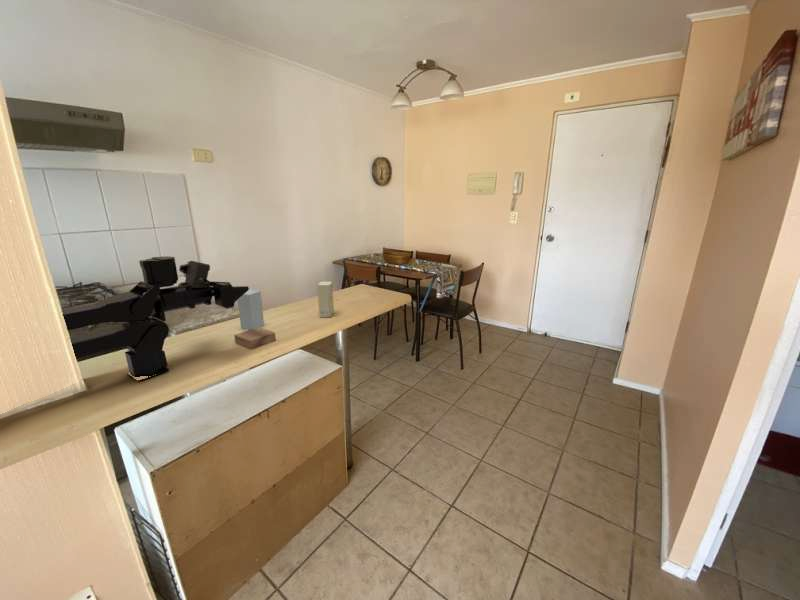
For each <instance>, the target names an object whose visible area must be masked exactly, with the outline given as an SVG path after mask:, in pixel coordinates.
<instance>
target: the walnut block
mask: <svg viewBox="0 0 800 600" xmlns="http://www.w3.org/2000/svg"><path fill="white" fill-rule="evenodd" d="M233 337H234V342H235V344H236V345H239V346H242V347H243V346H244V347H243V348H246V347H247V349H248V350H251V349H252V350H255V349H257V348H260V347H263V346H266V345H268V344H271V343H273V342H275V340H276V341H277V339H276V332H275V331H272V330H269V329H265V328H262V327H258V328H254V329H251V330H246V331H243V332H240V333H236V334H234V336H233ZM272 341H273V342H272ZM270 342H271V343H270ZM267 343H268V344H267Z"/></svg>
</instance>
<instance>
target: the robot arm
mask: <svg viewBox="0 0 800 600" xmlns="http://www.w3.org/2000/svg"><path fill="white" fill-rule="evenodd" d="M139 266H140V269H141V272H142V277H143V281H142V280H141V281H139V282H138V283H137V284H136V285H134V287H132V288H131V289H130V290H128V291H126V292H123V293H119V294H116V295H113V296H110V297H107V298H105V299H103V300H101V301H98V302H95V303H91V304H86V305H81V306H76V307H70V308H65V309H64V308H63V309H61V310H62V312H63V316H64V319H65V322H66V325H67V329H68V330H67V331H72V330H76V329H81V328H84V327H90V326H95V325H100V324H103V323H120V324H118V325H117V326H115V327H113V328H109V329H105V330H101V331H97V332H92V333H88V334H84V335H79V336H73V337H69V338H70V339H71V342H72V346H73V349H74V353H75V356H76V359H75V360H77V359H80V358H84V357H89V356H91V355H96V354H100V353H103V352H107V351H110V350H111V351H112V350H115V349H118V348H123V349H125V350H127V351H124V354H125V358H126V364H127V368H128V372H130V374H131V375H132V376H134V377H140V376H148V377H149V376H153V375H155V374H159V373H162V372H165V373H167V372H166V371H168V370H170V369H169V368H168V361H167V356H166V352H165V350H163V349H164V343H165V340H166V339H167V337H168V335H169V331H170V329H169V326H168V324H167V322H166V319H167V318H166V313H167V312H168V313H169V312H173V311H178V310H181V309H182V310H183V309H185V308H188V309H196V306H200V305H207V306H209V305H212V300H213V297H214V304H215V306H217V307H218V308H223V309H226V310H228V309H231V308H234V307H235V303H236V302H238V299H239V298H240V297H241V296H242V295H244V294H245V293H246V292H247V291H248V290H250V287H249V286H248V285H247V286H246V285H244V286H243V285H242V286H236V285H235V286H232V283H231V282H229V281H214V280H213V281H211V280H208V276H209V271H210V270H211V265H210V264H209V263H205V262H199V261H194V260H189V261H187V263H185V264H180V265H179V269H178V270H177V263H176V258H175V256H153V257H151V258H146V259H143V260H139ZM178 271H179V272H180V273H182V274H183V275H184V276H183V277H185V280H184V281H182V282H179V283H178V281H179V277H178ZM175 284H178V285H177V286H175ZM168 372H169V371H168ZM162 374H163V373H162ZM159 375H160V374H159ZM153 377H154V376H153Z"/></svg>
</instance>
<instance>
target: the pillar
mask: <svg viewBox="0 0 800 600" xmlns="http://www.w3.org/2000/svg"><path fill="white" fill-rule="evenodd" d="M237 307H238V314H239V315H238V316H239V321H240V329H242V330H247V329H248V330H251V329H254V328H258V327H260V328H262V327H265V320H264V312H263V303H262V294H261V291H260V290H256V289H255V290H254V289H249V290H248V291H247V292H246V293H245V294H244V295H242V296H241V297H240V298H239V299H238V300H237ZM248 330H247V331H248Z"/></svg>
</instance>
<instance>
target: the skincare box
mask: <svg viewBox="0 0 800 600" xmlns="http://www.w3.org/2000/svg"><path fill="white" fill-rule="evenodd" d="M316 285H317V289H316V290H317V298H318V302H317V303H318V315H319V318H332V316H333V315H334V314H335V303H334V290H333V281H319V282H318V284H316Z"/></svg>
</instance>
